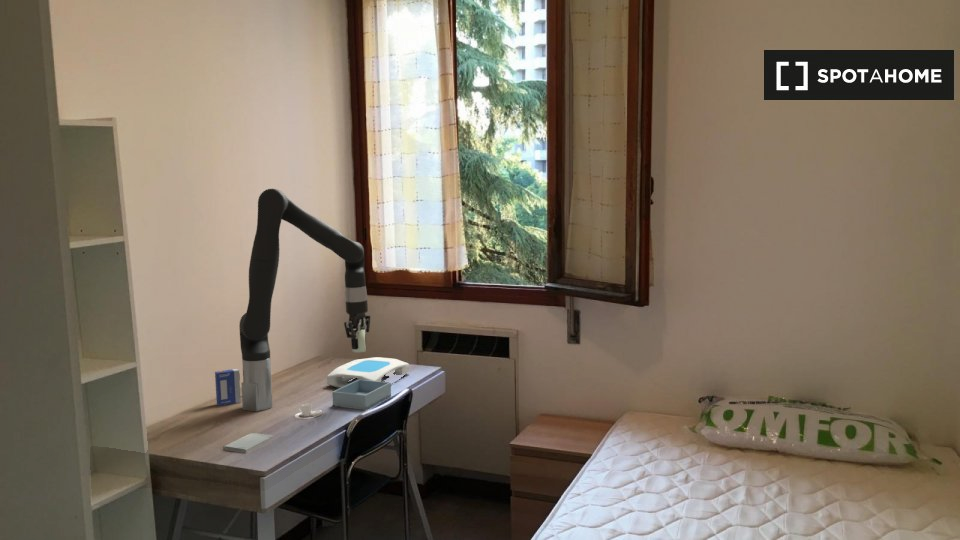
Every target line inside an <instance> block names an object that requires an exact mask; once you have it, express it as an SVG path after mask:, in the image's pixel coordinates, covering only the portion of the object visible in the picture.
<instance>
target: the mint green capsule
mask: <svg viewBox="0 0 960 540" xmlns="http://www.w3.org/2000/svg"><path fill="white" fill-rule="evenodd" d="M353 330H356V329H353ZM354 334H355V332H354ZM357 339H358V349H352V348H351V350H352V353H365V352H366V351H367V349H366V347H367V344H366V345H365V329H360V331H359V332H358V338H357Z"/></svg>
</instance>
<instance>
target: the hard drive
mask: <svg viewBox="0 0 960 540" xmlns="http://www.w3.org/2000/svg"><path fill="white" fill-rule="evenodd" d="M273 439H274V436H273V435H271V434H263V433H256V432H250V433H248V434H247V435H244V436H243V437H240V438H238V439H236V440H234V441H232V442H230V443H228V444H225V445H224V446H223V449H222V450H225V451H231V452H237V453H244V454H247V453H249V452H251V451H253V450H255V449H257V448H259V447H260V446H262V445H264V444H266V443H268V442H270V441H272V440H273Z"/></svg>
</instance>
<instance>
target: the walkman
mask: <svg viewBox="0 0 960 540" xmlns="http://www.w3.org/2000/svg"><path fill="white" fill-rule="evenodd" d="M240 374H241V373H240V369H239V368H232V369H225V370H219V371H218V370H217V371H215V372H214V379H215V397H216V405H217V406H218V407H222V406H228V405H233V404H239V403H241V402H242V401H241V400H242V397H241V383H240V382H241V381H240V380H241V375H240Z"/></svg>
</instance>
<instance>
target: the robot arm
mask: <svg viewBox="0 0 960 540" xmlns="http://www.w3.org/2000/svg"><path fill="white" fill-rule="evenodd" d="M282 221H285V222H287V223H288V224H290V225H292V226H293V227H295V228H297V229H298V230H300V231H301V232H302V233H304V234H305V235H307V237H309V238H311V239H312V240H313V241H315V242H316V243H318V244H319V245H322V246H323V247H325V248H327V249H329V250H330V251H332V252H333V253H335V254H336V255H337V256H338V257H340V258H341V259H343V260H344V266H345V272H344V284H345V285H344V286H345V291H344V298H345V299H344V300H345V313H346V314H347V315H349V318H348V321H345V322H344V323H343V324H344V329H345V333H346V337H347V338H348V339H350V342H351V343H350V344H351V350H352V349H358V339H357V338H358V332H359V331H360V329H365V345H366V346H367V338H366V337H367V334H368V333H370V325H371V315H368V314H367V313H368V311H369V309H368V308H369V305H368V293H367V292H368V291H367V284H366V273H365V248H364V246H363V245H362V244H361V243H360V242H358V241H354V240H352V239H349V238H348V237H346V236H344V235H343V234H342V233H341V232H340V231H339V230H338V229H336V228H334V227H333V226H331V225H329V224H328V223H326V222H324V221H323V220H321V219H319V218H317V217H316V216H314V215H312V214H310V213H308V212H307V211H305V210H303V209H302V208H301V207H299V205H297V204H295V203H294V202H293V201H292V200H291V199H290V198H289V197H287V196H286V194H285V193H284V192H283V191H282V190H279V189H277V188H268V189H265V190H264V191H262V192H261V193H260V195H259V197H258V200H257V221H256V222H257V223H256V224H257V225H256V231H255V235H254V239H253V244H252V248H251V254H250V260H249V266H248V292H249V293H248V305H247V309H246V312H245V313H244V314H243V315H242V316H241V317H240V320H239V341H240V351H241V359H242V360H241V361H242V362H241V364H242V378H243V379H242V382H241V400H242V401H241V402H242V410H244V411H249V412H259V411H264V410H269V409H270V408H272V407H273V406H274V405H273V388H272V386H273V385H272V365H271V364H272V363H271V349H270V344H269V333H270V330H271V315H272V314H271V312H272V311H271V309H272V300H273V295H274V290H275V286H276V280H277V277H278V276H277V275H278V271H279V264H280V230H281V229H280V227H281V224H282ZM366 314H367V315H366ZM353 329H356V330H353ZM354 332H355V334H354Z"/></svg>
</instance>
